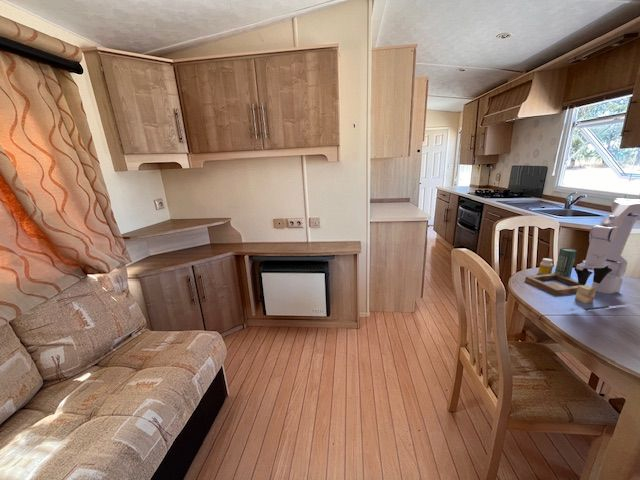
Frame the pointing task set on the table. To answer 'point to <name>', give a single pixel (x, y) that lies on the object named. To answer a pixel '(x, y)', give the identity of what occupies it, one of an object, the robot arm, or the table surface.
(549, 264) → the supplement bottle
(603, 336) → the table surface
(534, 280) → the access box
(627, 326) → the table surface
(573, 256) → the can
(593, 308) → the place mat
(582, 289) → the beech block
